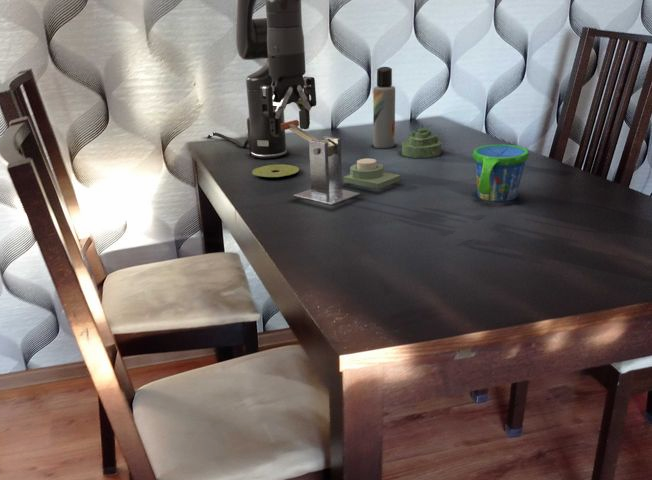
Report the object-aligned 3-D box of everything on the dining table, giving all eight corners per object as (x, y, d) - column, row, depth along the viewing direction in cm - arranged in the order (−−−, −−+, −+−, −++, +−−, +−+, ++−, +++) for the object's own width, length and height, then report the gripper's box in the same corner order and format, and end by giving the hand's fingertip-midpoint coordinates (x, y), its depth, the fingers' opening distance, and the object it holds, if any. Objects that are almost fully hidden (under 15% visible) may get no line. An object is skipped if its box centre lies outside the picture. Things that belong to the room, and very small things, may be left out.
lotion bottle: (394, 143, 192) (395, 65, 182) (394, 148, 187) (395, 68, 177) (373, 143, 193) (373, 66, 183) (373, 148, 188) (373, 69, 178)
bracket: (294, 201, 151) (290, 140, 144) (322, 191, 156) (320, 132, 150) (332, 210, 144) (330, 147, 138) (360, 199, 149) (359, 138, 143)
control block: (343, 186, 159) (342, 168, 157) (365, 178, 164) (365, 160, 162) (378, 193, 152) (378, 175, 150) (400, 184, 157) (400, 167, 155)
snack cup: (502, 215, 136) (507, 162, 131) (454, 206, 142) (457, 155, 137) (537, 194, 146) (542, 145, 141) (490, 187, 152) (494, 139, 147)
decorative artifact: (426, 146, 187) (394, 152, 184) (427, 119, 184) (394, 124, 180) (448, 154, 179) (415, 160, 175) (450, 125, 175) (416, 131, 172)
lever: (277, 131, 149) (279, 120, 147) (293, 126, 152) (295, 116, 150) (320, 159, 143) (323, 148, 142) (336, 154, 146) (339, 143, 145)
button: (352, 169, 157) (352, 161, 156) (365, 165, 160) (365, 157, 159) (368, 172, 154) (368, 164, 154) (380, 167, 157) (380, 160, 156)
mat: (244, 177, 169) (243, 169, 168) (285, 169, 174) (284, 161, 173) (265, 187, 161) (265, 179, 160) (308, 178, 165) (307, 170, 164)
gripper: (297, 46, 149) (301, 124, 156) (247, 54, 140) (254, 137, 148) (323, 47, 144) (326, 128, 152) (273, 56, 135) (279, 141, 143)
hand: (290, 132), depth 150 cm, fingers open, 8 cm apart
